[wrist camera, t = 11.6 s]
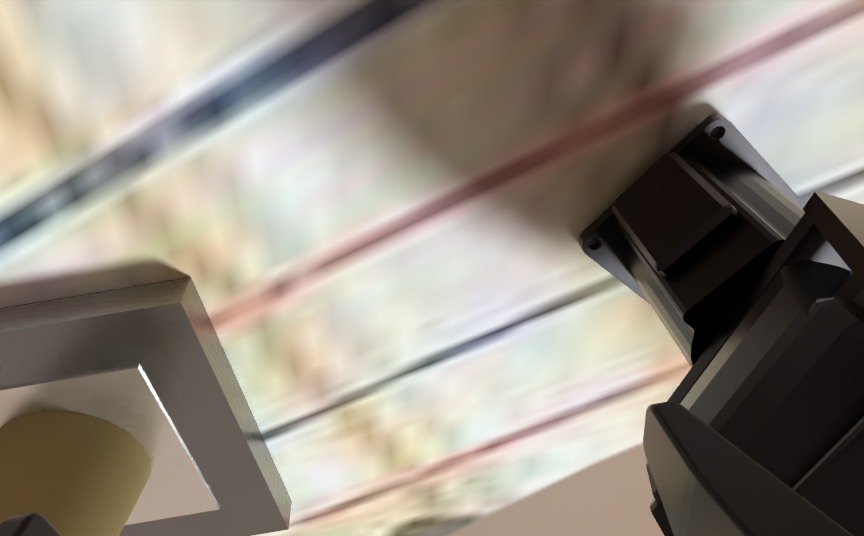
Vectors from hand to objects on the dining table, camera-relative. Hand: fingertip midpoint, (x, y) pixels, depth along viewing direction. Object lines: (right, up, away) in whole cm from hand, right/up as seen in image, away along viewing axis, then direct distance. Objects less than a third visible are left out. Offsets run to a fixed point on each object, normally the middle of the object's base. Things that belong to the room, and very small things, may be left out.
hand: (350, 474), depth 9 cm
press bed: (-14, -4, +17) cm, 22 cm away
